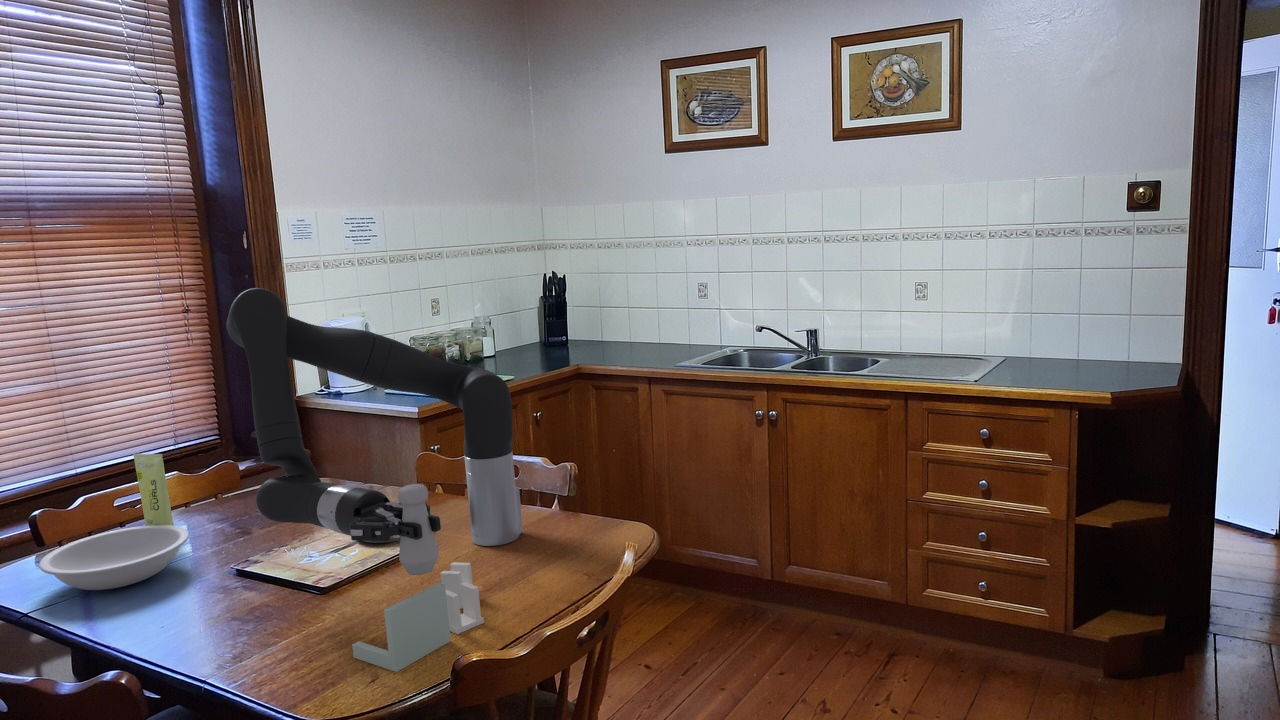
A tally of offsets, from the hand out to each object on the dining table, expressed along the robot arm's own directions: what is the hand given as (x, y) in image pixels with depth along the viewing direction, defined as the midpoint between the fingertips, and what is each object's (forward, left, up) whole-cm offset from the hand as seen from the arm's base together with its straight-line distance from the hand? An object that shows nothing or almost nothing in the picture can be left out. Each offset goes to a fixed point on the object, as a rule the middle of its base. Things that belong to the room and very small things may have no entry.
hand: (429, 528), depth 132 cm
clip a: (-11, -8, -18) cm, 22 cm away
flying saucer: (-29, -45, -18) cm, 56 cm away
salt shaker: (0, -3, -7) cm, 8 cm away
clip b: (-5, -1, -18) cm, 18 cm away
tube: (-3, -85, -18) cm, 87 cm away
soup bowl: (+11, -73, -18) cm, 76 cm away
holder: (+5, -4, -18) cm, 19 cm away
